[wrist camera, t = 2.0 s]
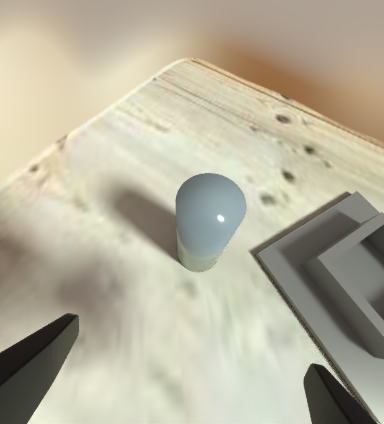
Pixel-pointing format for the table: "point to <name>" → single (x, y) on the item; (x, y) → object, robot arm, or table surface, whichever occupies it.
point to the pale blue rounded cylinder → (207, 219)
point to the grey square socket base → (339, 290)
